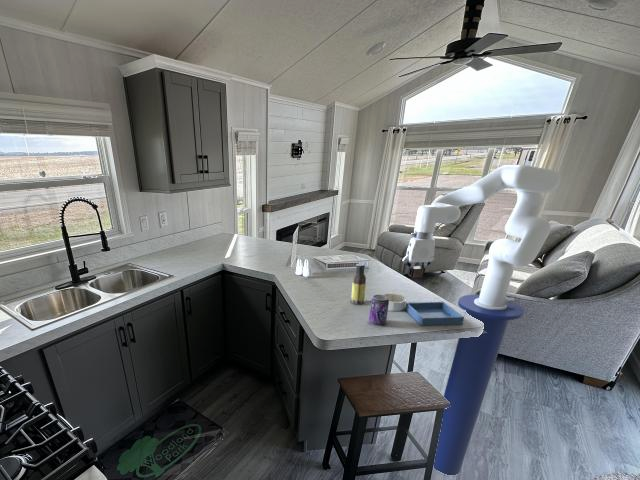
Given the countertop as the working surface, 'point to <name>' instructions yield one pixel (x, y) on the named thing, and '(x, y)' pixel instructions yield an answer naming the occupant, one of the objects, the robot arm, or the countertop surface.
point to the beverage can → (379, 309)
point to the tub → (434, 313)
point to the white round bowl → (396, 302)
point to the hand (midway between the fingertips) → (415, 275)
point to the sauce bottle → (358, 285)
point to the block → (418, 272)
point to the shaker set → (304, 269)
